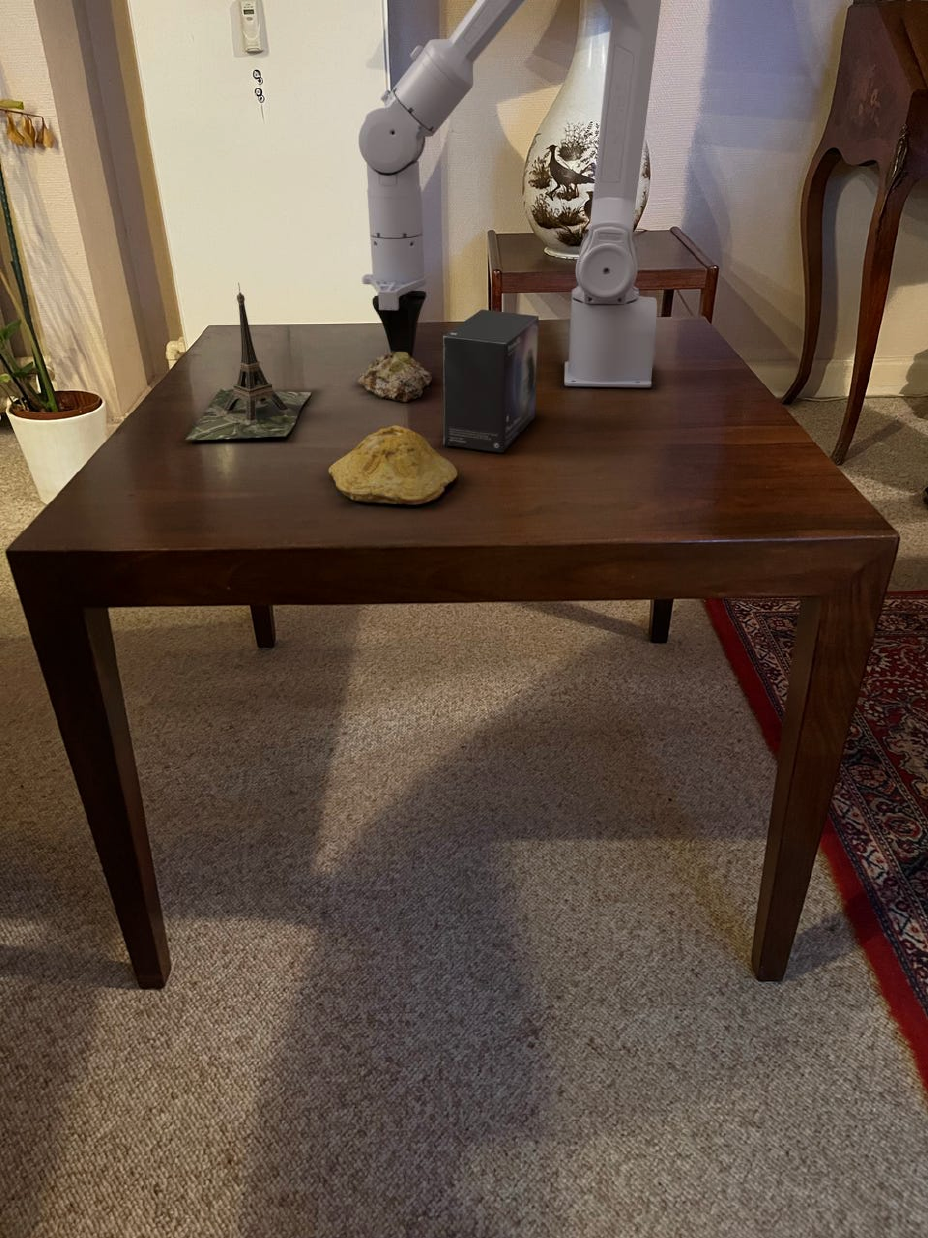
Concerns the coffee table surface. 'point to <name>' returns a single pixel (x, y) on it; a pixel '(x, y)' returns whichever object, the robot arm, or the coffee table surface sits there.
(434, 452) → the fossil
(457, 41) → the robot arm
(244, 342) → the eiffel tower figurine
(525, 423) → the small box
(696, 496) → the coffee table surface
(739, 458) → the coffee table surface
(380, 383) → the mineral rock
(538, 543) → the coffee table surface
